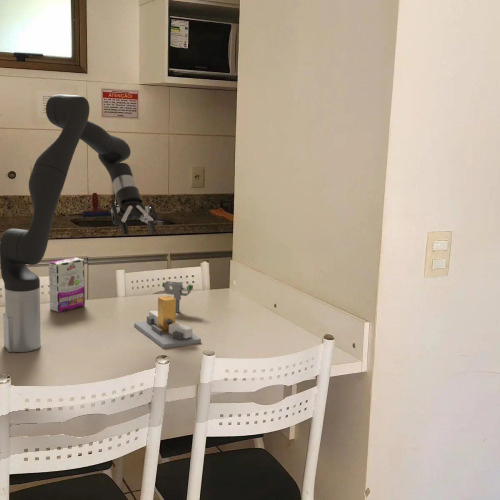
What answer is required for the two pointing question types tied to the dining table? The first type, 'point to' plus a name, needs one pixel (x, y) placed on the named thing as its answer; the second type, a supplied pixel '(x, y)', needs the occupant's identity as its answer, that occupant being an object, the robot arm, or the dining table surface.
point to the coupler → (166, 312)
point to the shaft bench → (173, 338)
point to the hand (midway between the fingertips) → (140, 233)
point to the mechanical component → (176, 291)
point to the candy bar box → (66, 284)
